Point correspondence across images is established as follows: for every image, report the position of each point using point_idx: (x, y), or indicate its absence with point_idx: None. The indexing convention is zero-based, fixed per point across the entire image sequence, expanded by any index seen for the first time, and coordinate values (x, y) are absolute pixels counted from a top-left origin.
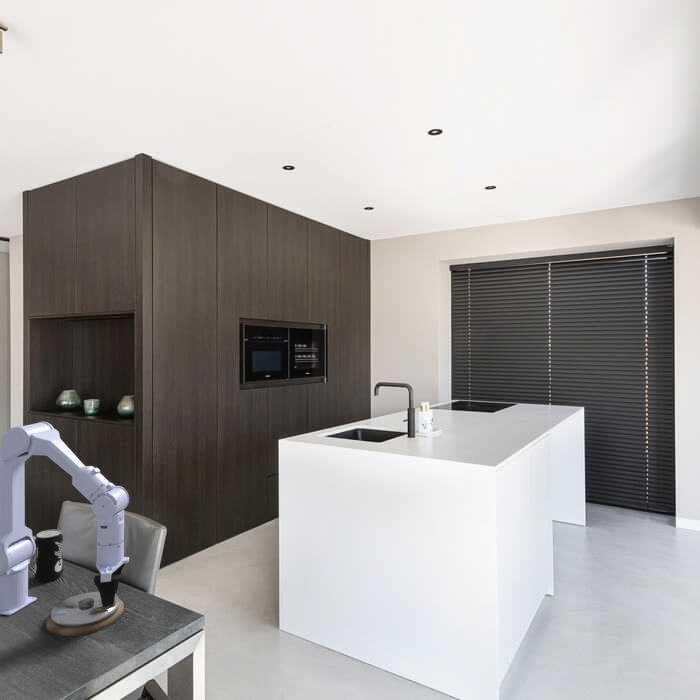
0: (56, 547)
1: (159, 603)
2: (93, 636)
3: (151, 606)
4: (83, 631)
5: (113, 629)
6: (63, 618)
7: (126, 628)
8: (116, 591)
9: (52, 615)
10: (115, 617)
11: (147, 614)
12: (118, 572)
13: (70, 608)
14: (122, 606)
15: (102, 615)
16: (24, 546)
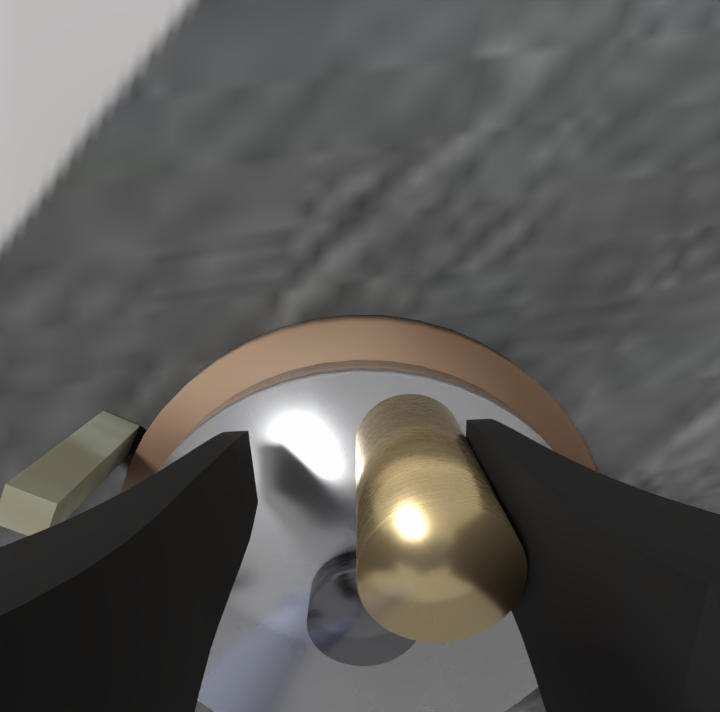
0: None
1: (254, 8)
2: (634, 446)
3: (301, 87)
4: None
5: (594, 342)
6: (510, 676)
7: (617, 253)
8: (243, 438)
9: None
10: (503, 358)
11: (443, 107)
12: (132, 582)
13: (377, 671)
14: (328, 335)
15: None
16: None
